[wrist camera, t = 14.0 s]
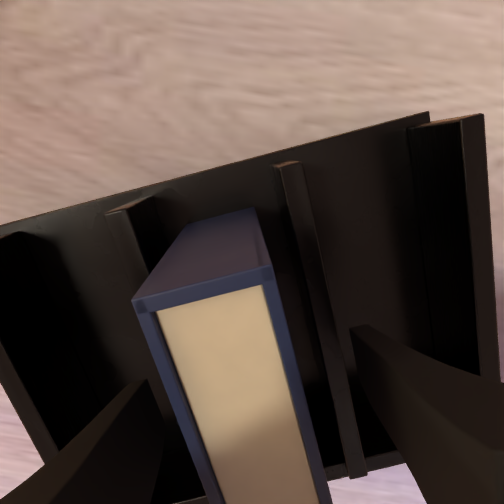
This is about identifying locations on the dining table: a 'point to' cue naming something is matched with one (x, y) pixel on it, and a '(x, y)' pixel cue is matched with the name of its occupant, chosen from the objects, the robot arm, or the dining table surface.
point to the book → (232, 365)
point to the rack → (287, 276)
